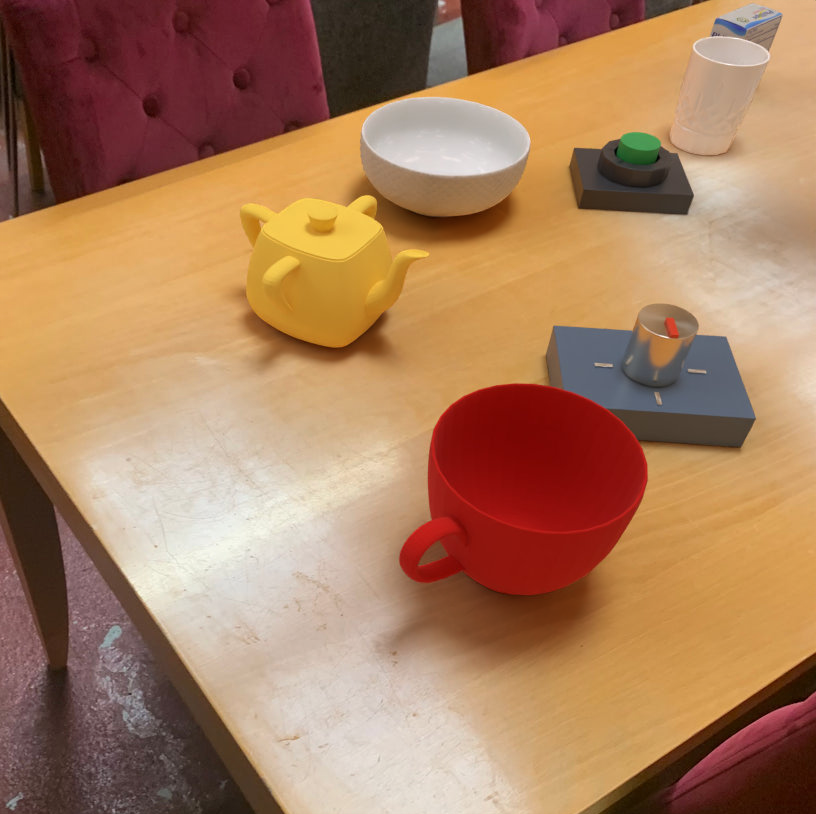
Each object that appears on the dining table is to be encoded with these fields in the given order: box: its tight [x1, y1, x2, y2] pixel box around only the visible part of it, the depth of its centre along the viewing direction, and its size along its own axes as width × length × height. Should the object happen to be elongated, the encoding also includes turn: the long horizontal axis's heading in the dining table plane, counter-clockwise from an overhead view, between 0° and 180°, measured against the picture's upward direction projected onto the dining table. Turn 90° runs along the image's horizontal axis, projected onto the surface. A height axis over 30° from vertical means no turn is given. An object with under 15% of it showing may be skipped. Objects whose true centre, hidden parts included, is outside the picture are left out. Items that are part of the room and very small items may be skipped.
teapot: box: [239, 194, 430, 349], centre depth 75 cm, size 14×13×10 cm
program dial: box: [621, 303, 700, 387], centre depth 68 cm, size 4×4×5 cm
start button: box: [616, 131, 662, 165], centre depth 91 cm, size 4×4×2 cm
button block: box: [568, 138, 695, 216], centre depth 93 cm, size 11×9×4 cm
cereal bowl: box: [359, 96, 532, 218], centre depth 90 cm, size 17×17×7 cm
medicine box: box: [709, 2, 784, 53], centre depth 108 cm, size 8×4×9 cm, turn 130°
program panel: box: [545, 325, 757, 448], centre depth 71 cm, size 14×10×3 cm
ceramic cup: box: [398, 382, 649, 596], centre depth 56 cm, size 13×17×10 cm
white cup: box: [668, 36, 771, 156], centre depth 98 cm, size 8×8×10 cm
